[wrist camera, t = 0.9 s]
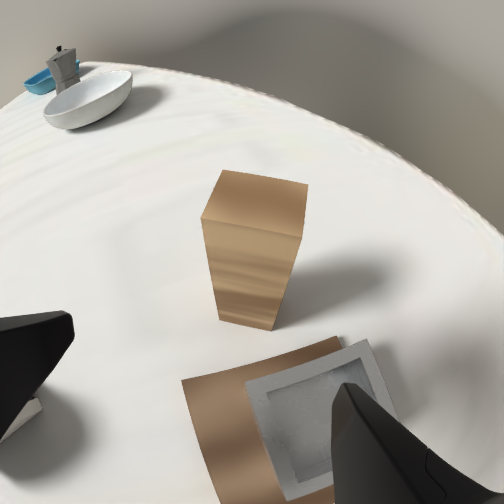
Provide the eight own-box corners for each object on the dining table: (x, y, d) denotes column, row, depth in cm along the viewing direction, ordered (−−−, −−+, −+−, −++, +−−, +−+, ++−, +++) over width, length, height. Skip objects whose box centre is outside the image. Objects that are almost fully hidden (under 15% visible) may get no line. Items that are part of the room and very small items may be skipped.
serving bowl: (38, 138, 42) (29, 114, 36) (100, 93, 53) (95, 72, 47) (83, 148, 38) (71, 116, 32) (156, 96, 49) (152, 68, 43)
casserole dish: (90, 72, 70) (86, 57, 64) (40, 100, 59) (35, 84, 53) (61, 72, 81) (59, 60, 75) (23, 95, 70) (19, 83, 64)
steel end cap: (377, 441, 16) (406, 444, 12) (277, 484, 14) (286, 501, 10) (344, 354, 20) (366, 338, 16) (243, 388, 18) (244, 381, 15)
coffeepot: (82, 98, 52) (69, 42, 37) (53, 111, 50) (37, 57, 35) (88, 83, 60) (78, 36, 45) (63, 94, 58) (51, 48, 43)
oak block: (271, 331, 22) (301, 237, 11) (219, 319, 23) (200, 218, 12) (278, 295, 24) (308, 184, 13) (229, 284, 25) (222, 169, 14)
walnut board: (382, 473, 14) (388, 475, 14) (234, 528, 12) (233, 532, 11) (333, 338, 22) (336, 335, 21) (183, 381, 19) (181, 380, 19)
